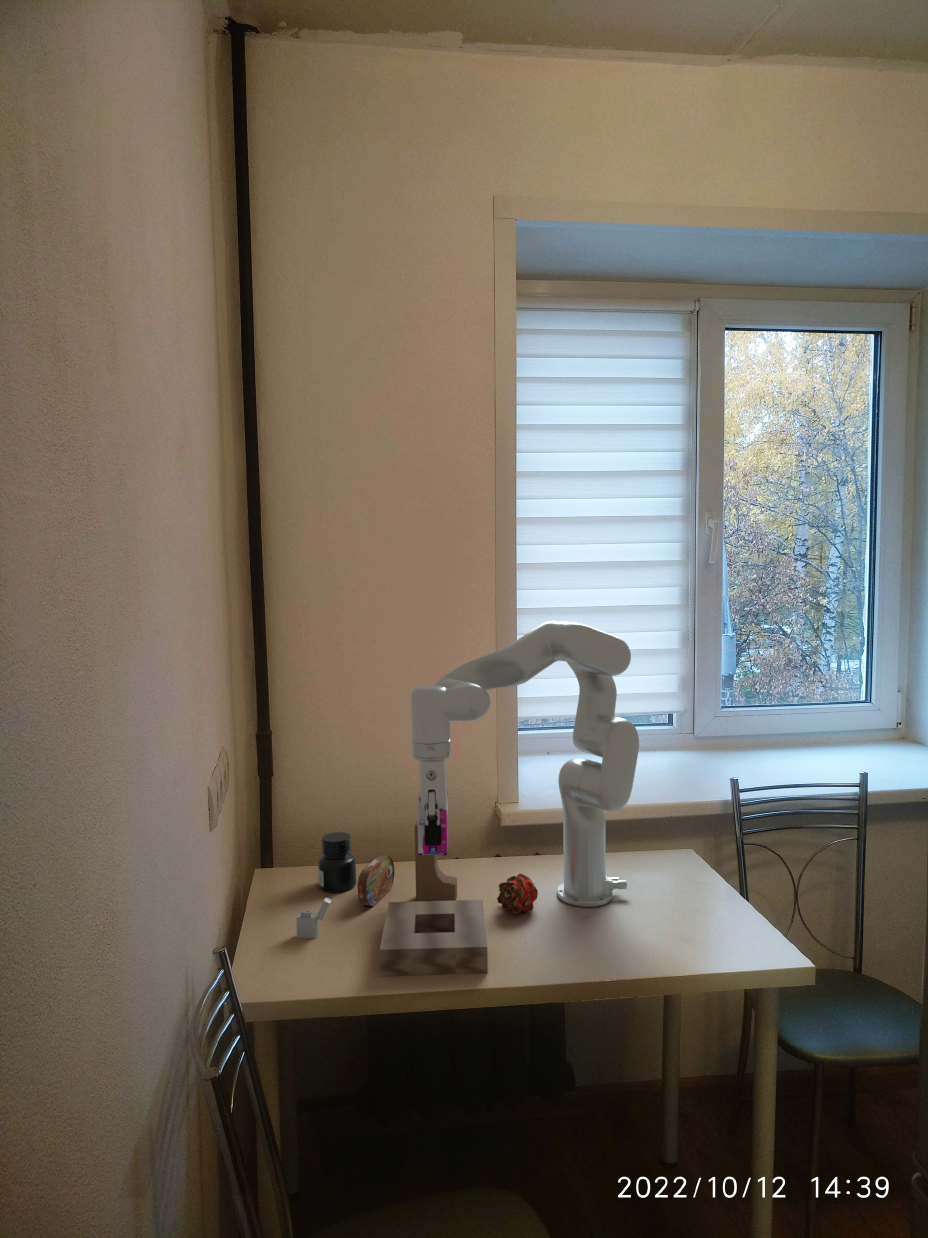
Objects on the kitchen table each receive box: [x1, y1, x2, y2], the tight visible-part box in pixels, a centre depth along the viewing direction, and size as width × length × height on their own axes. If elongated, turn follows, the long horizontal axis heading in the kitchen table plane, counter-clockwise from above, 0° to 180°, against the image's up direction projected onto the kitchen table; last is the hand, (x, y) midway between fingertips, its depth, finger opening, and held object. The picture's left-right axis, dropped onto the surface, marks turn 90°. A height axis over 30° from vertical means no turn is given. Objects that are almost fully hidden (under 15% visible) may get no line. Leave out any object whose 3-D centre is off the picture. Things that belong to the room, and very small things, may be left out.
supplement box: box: [417, 790, 450, 857], centre depth 147 cm, size 6×6×12 cm
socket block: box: [379, 899, 489, 977], centre depth 148 cm, size 20×20×5 cm
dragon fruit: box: [496, 873, 539, 915], centre depth 164 cm, size 8×8×12 cm
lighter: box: [295, 897, 332, 939], centre depth 154 cm, size 7×2×8 cm, turn 86°
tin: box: [356, 855, 395, 907], centre depth 172 cm, size 15×3×8 cm, turn 161°
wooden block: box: [414, 819, 458, 902], centre depth 170 cm, size 9×4×18 cm, turn 85°
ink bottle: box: [317, 831, 357, 893], centre depth 178 cm, size 10×9×12 cm
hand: (433, 838), depth 147 cm, fingers closed on supplement box, 5 cm apart
